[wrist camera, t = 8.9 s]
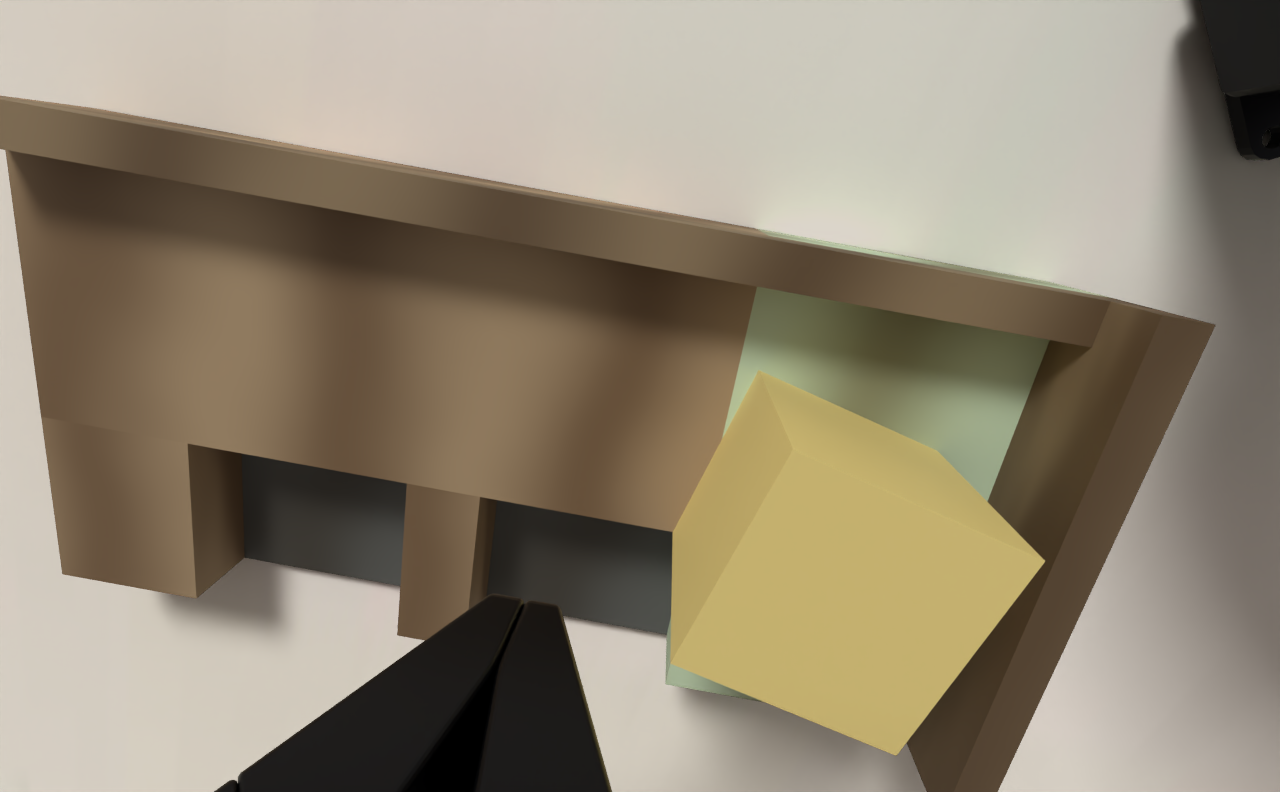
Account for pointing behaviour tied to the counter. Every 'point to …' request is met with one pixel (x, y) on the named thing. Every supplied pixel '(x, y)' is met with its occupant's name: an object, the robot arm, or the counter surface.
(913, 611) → the block
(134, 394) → the deck
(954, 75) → the counter surface
